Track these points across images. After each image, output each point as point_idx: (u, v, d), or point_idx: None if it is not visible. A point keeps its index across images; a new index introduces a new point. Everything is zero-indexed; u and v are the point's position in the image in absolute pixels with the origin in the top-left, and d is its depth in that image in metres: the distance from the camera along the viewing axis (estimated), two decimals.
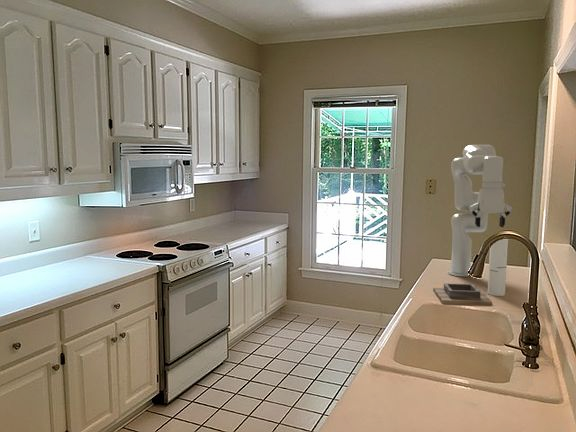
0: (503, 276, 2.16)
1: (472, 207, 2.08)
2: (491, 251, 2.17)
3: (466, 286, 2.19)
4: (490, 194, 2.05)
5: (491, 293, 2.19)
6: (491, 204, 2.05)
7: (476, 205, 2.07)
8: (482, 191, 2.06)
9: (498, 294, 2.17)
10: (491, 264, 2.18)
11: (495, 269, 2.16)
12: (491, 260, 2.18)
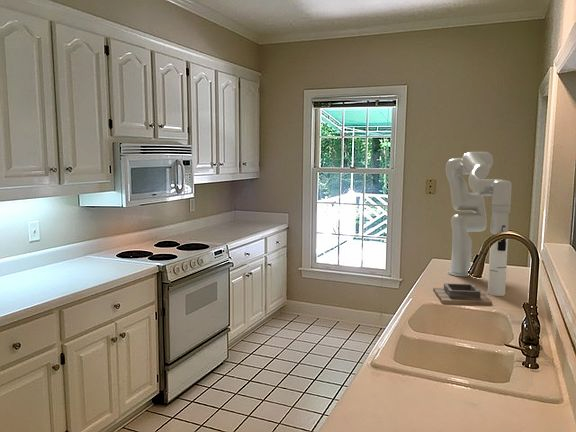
0: (503, 276, 2.16)
1: None
2: (491, 251, 2.17)
3: (466, 286, 2.19)
4: None
5: (491, 293, 2.19)
6: None
7: None
8: (507, 215, 2.12)
9: (498, 294, 2.17)
10: (491, 264, 2.18)
11: (495, 269, 2.16)
12: (491, 260, 2.18)
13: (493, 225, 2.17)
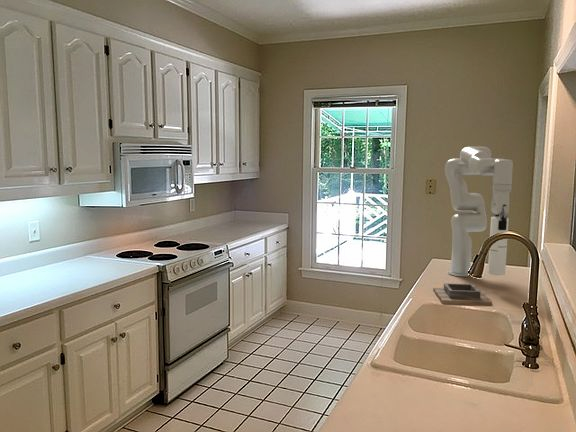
0: (504, 256, 2.16)
1: None
2: (492, 230, 2.17)
3: (466, 286, 2.19)
4: None
5: (491, 273, 2.18)
6: None
7: None
8: (508, 194, 2.11)
9: (498, 273, 2.17)
10: None
11: (495, 248, 2.16)
12: None
13: (494, 204, 2.16)
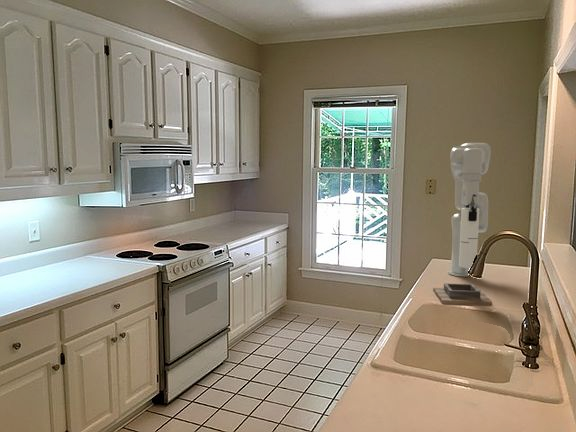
0: (475, 248, 2.09)
1: None
2: (462, 222, 2.10)
3: (466, 286, 2.19)
4: None
5: (462, 265, 2.11)
6: None
7: None
8: (477, 183, 2.05)
9: (469, 266, 2.10)
10: (462, 235, 2.11)
11: (466, 240, 2.09)
12: (462, 231, 2.10)
13: (464, 195, 2.10)
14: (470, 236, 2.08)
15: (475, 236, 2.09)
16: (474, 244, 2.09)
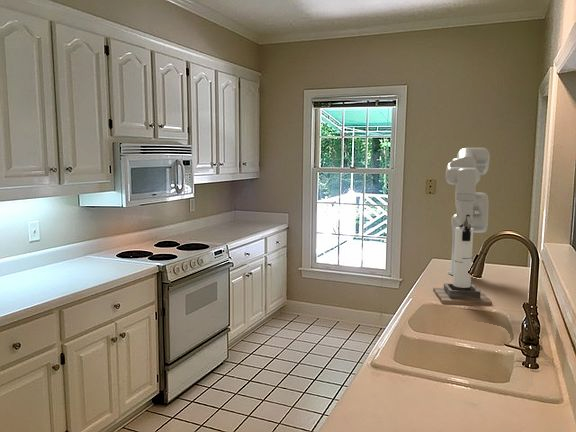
0: (469, 268, 2.09)
1: None
2: (456, 241, 2.10)
3: None
4: None
5: (456, 285, 2.12)
6: None
7: None
8: (471, 203, 2.05)
9: (463, 286, 2.10)
10: (456, 255, 2.11)
11: (460, 260, 2.09)
12: (456, 251, 2.11)
13: (458, 215, 2.10)
14: (464, 256, 2.09)
15: (469, 256, 2.09)
16: (468, 264, 2.09)
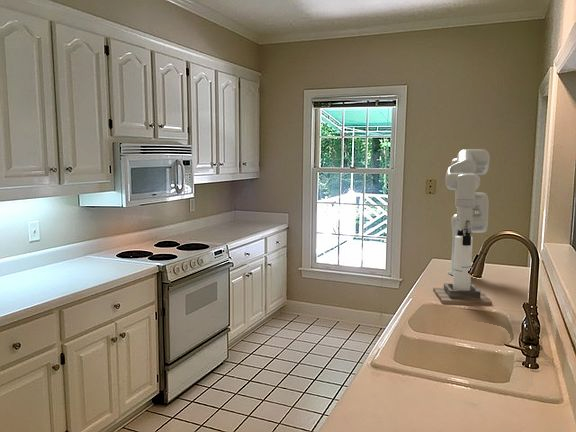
0: (468, 276, 2.10)
1: None
2: (455, 250, 2.11)
3: None
4: None
5: None
6: None
7: None
8: (471, 209, 2.05)
9: None
10: (455, 263, 2.12)
11: (459, 269, 2.10)
12: (455, 259, 2.11)
13: (458, 220, 2.10)
14: (463, 265, 2.09)
15: (468, 265, 2.10)
16: (467, 272, 2.10)
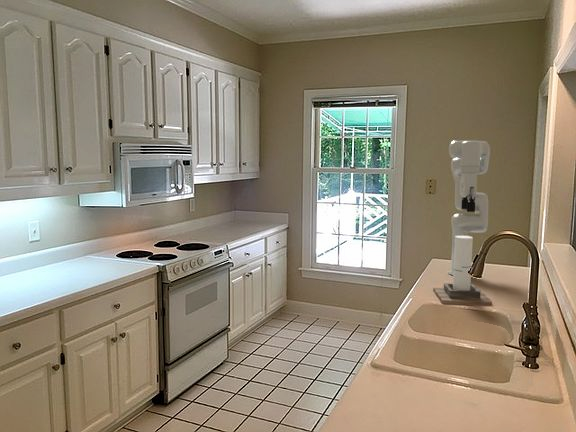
0: (468, 276, 2.10)
1: None
2: (455, 250, 2.11)
3: None
4: None
5: None
6: None
7: None
8: (475, 176, 2.07)
9: None
10: (455, 263, 2.12)
11: (459, 269, 2.10)
12: (455, 259, 2.11)
13: (462, 187, 2.12)
14: (463, 265, 2.09)
15: (468, 265, 2.10)
16: (467, 272, 2.10)
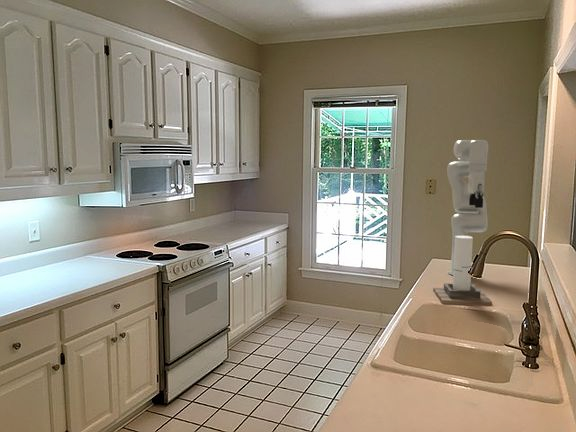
0: (468, 276, 2.10)
1: None
2: (455, 250, 2.11)
3: None
4: None
5: None
6: None
7: None
8: (483, 173, 2.17)
9: None
10: (455, 263, 2.12)
11: (459, 269, 2.10)
12: (455, 259, 2.11)
13: (470, 184, 2.22)
14: (463, 265, 2.09)
15: (468, 265, 2.10)
16: (467, 272, 2.10)
